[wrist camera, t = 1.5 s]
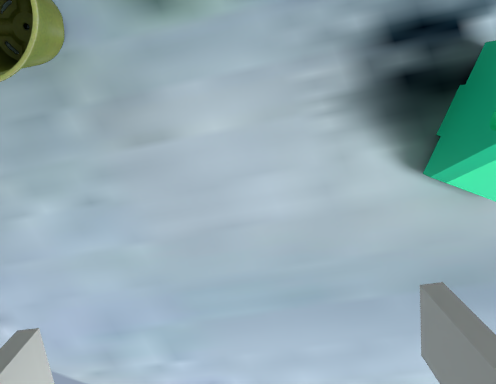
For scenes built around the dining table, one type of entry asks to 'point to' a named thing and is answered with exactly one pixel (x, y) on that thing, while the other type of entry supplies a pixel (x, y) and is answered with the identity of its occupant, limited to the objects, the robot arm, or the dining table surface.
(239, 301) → the dining table surface
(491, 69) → the camera mount
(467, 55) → the dining table surface
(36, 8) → the plant pot
